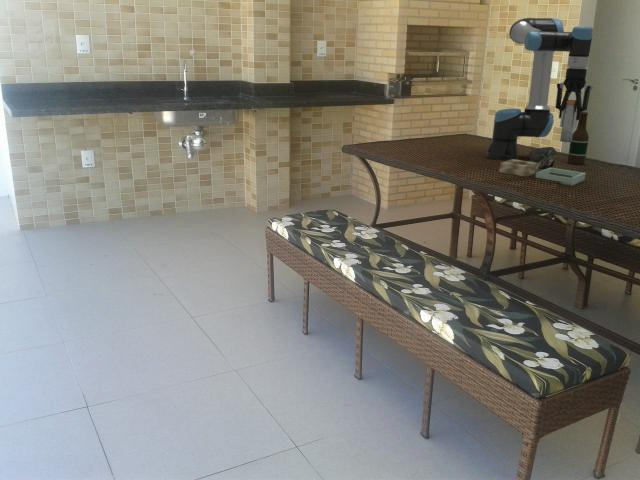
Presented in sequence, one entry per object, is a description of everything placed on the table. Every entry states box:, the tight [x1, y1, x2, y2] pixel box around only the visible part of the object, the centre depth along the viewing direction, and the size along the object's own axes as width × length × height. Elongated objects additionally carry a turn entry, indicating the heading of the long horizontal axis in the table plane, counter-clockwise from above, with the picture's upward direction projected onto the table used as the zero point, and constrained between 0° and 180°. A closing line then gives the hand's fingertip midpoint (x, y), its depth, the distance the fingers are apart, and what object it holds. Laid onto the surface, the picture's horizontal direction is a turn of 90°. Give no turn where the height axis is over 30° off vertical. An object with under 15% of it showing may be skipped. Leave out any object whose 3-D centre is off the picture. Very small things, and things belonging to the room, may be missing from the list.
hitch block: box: [499, 159, 539, 177], centre depth 262 cm, size 12×12×5 cm
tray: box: [535, 167, 587, 187], centre depth 254 cm, size 15×15×3 cm
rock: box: [528, 146, 557, 170], centre depth 274 cm, size 12×10×10 cm
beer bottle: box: [567, 111, 589, 166], centre depth 285 cm, size 8×8×24 cm
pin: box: [559, 99, 577, 143], centre depth 247 cm, size 4×4×16 cm
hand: (568, 127), depth 248 cm, fingers closed on pin, 4 cm apart
